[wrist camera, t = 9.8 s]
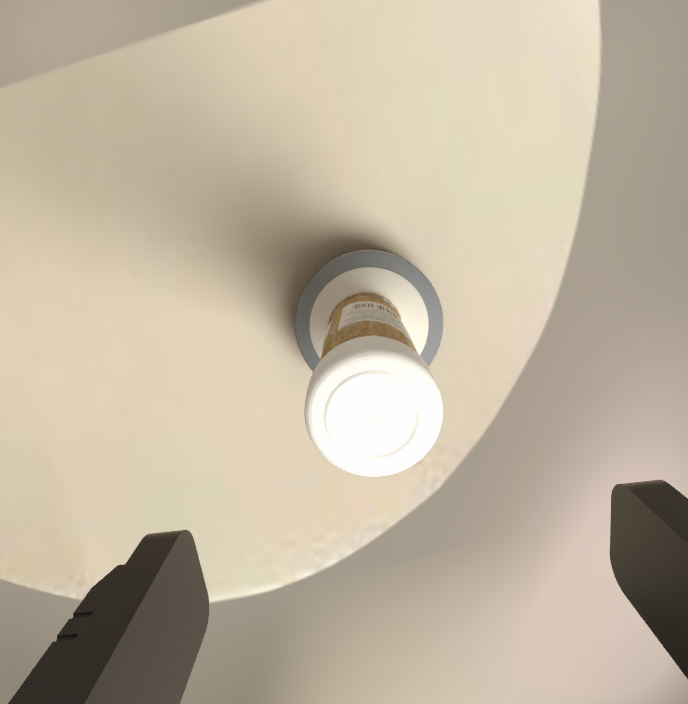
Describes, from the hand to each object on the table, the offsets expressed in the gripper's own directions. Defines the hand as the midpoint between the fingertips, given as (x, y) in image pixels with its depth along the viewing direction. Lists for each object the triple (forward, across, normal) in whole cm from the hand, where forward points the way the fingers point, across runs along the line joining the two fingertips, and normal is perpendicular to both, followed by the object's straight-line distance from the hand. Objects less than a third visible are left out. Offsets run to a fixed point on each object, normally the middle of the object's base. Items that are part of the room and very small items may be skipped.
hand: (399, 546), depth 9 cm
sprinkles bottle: (+20, 0, 0) cm, 20 cm away
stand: (+22, 0, 0) cm, 22 cm away
